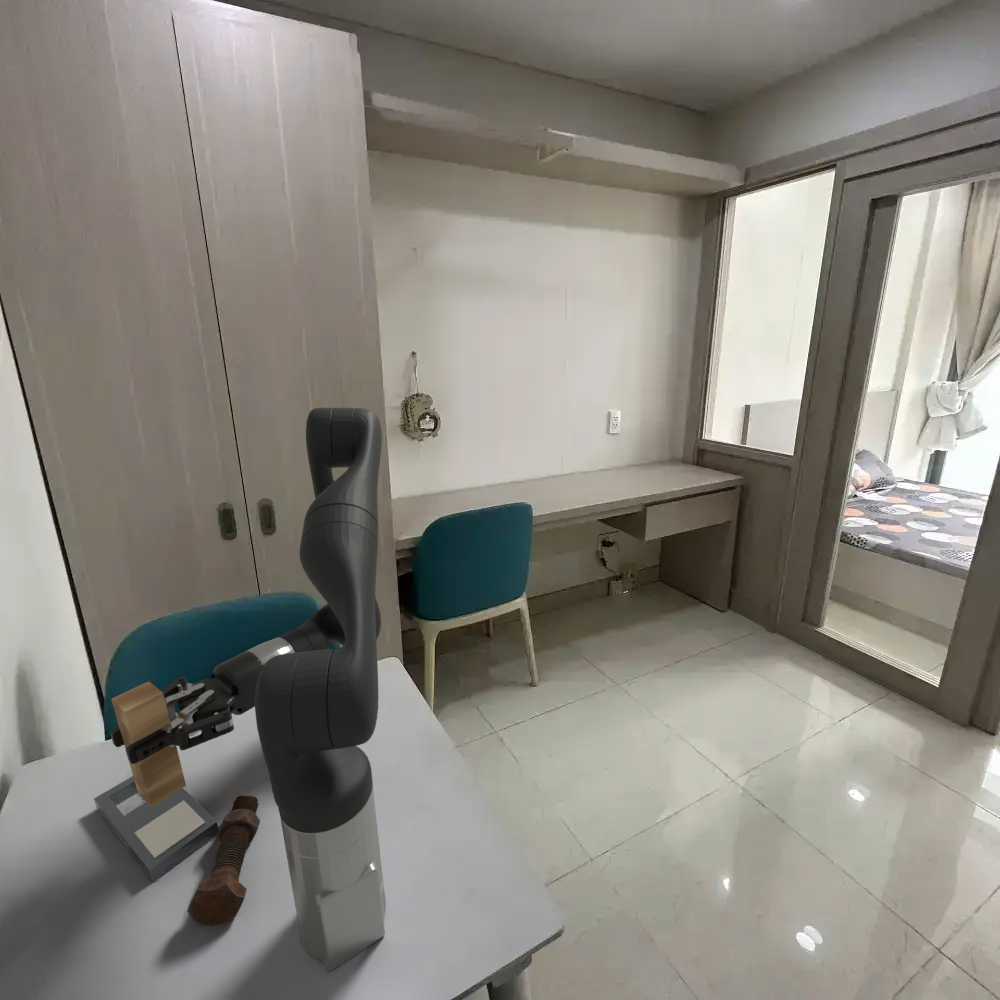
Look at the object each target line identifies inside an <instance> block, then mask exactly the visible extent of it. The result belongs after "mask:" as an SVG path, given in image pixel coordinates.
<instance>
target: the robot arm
mask: <svg viewBox="0 0 1000 1000" xmlns="http://www.w3.org/2000/svg"><path fill="white" fill-rule="evenodd" d="M305 424H306V425H305V443H306V446H305V447H306V452H307V458H308V465H309V472H310V476H311V482H312V487H313V493H314V498H315V499H314V500H313V502H311V504H310V505H309V508H308V509H307V510H306V514H305V517H304V520H303V526H302V532H301V538H300V546H299V560H300V564H301V567H302V569H303V572H305V575H306V576H307V578H308V580H309V581H310V582H311V584H312V586H313V587H314V588H315V589H316V591H318V593H319V594H320V596H321V597H322V598H323V599H324V601H325V602H326V603H327V604H325V605H323V606H322V607H321V608H319V610H317V611H316V612H315V613H314V614H312V615H311V616H310V617H309V618H308V619H306V621H304V622H303V623H302V624H301V625H300V626H298V627H296V628H294V629H292V630H290V631H288V632H286V633H284V634H282V635H280V636H278V637H275V638H273V639H271V640H267V641H265V642H262V643H260V644H257V645H256V646H254V647H251V648H250V649H247V650H245V651H243V652H241V653H239V654H236V655H235V656H233V657H231V658H229V659H227V660H225V661H222V662H221V663H219V664H217V665H216V666H215V667H214V669H213V672H212V673H211V675H210V676H209V677H208V678H205V679H202V680H199V681H196V682H194V683H191V682H190V683H189V682H187V677H186V676H181V677H178V678H177V679H175V680H173V681H172V682H170V683H169V684H168V685H166V686H165V687H163V688H162V689H161V690H160V691H161V692H163V695H164V699H165V703H166V707H167V711H168V715H169V719H170V723H169V724H168V725H167V726H165V727H164V731H162V730H161V729H159V730H157V731H155V732H154V733H152V734H150V735H148V736H146V737H144V738H142V739H141V740H139V741H137V742H135V743H133V744H131V745H129V746H128V747H127V748H126V749H125V753H126V756H127V761H128V762H129V761H130V762H131V763H132V764H135V763H137V762H139V761H141V760H144V759H146V758H148V757H149V756H151V755H153V754H155V753H156V752H158V751H160V750H162V749H163V748H165V747H167V746H168V747H174V746H176V747H179V749H180V751H185V750H189V749H191V748H193V747H196V746H198V745H202V744H204V743H206V742H208V741H211V740H213V739H214V740H215V739H216V738H219V737H221V736H223V735H227V734H229V733H231V732H233V731H234V729H235V726H234V718H233V716H232V715H235V716H240V715H243V714H244V713H247V712H248V711H249V710H252V709H253V708H254V711H255V721H256V727H257V728H256V730H257V733H258V737H259V742H260V747H261V751H262V753H263V758H264V760H265V765H266V769H267V773H268V777H269V781H270V788H271V792H272V797H273V799H274V803H275V804H276V806H277V808H278V814H279V817H280V824H281V830H282V836H283V841H284V842H283V843H284V847H285V853H286V859H287V865H288V871H289V877H290V882H291V888H292V889H291V890H292V895H293V901H294V906H295V912H296V916H297V917H296V918H297V923H298V929H299V934H300V940H301V943H302V945H303V947H304V949H305V950H306V952H307V953H308V954H309V955H310V956H312V957H313V958H314V959H316V960H319V961H321V962H323V963H324V964H325V965H326V969H327V971H328V972H331V971H333V970H334V969H337V967H340V966H341V965H342V964H344V963H345V962H347V961H349V960H350V959H351V958H352V957H354V956H356V955H358V954H359V953H360V952H362V951H363V950H364V949H367V947H369V946H371V945H372V944H374V943H375V942H377V941H378V940H380V939H381V938H383V937H384V936H385V934H386V930H385V921H384V919H385V915H386V895H385V884H384V876H383V868H382V867H383V866H382V859H381V849H380V839H379V831H378V830H379V829H378V823H377V813H376V802H375V800H376V799H375V793H374V784H373V783H374V782H373V772H372V766H371V761H370V760H369V759H370V758H369V757H368V756H367V754H366V752H365V751H363V749H362V748H360V747H359V746H360V745H363V744H366V743H368V741H370V739H371V738H372V737H373V734H374V732H375V729H376V726H377V722H378V721H377V720H378V715H379V714H378V713H379V697H380V696H379V670H378V667H379V666H378V647H377V640H378V639H379V636H380V633H381V630H382V617H381V616H382V615H381V611H380V607H379V604H378V600H377V597H376V596H377V595H376V587H377V584H376V583H377V565H378V552H379V549H378V548H379V512H378V511H379V508H378V506H379V505H378V487H379V485H378V481H379V475H380V474H379V473H380V463H381V456H382V443H383V435H382V434H383V431H382V425H381V422H380V418H379V416H378V415H377V413H376V412H375V411H373V410H371V409H367V408H363V407H316V408H315V407H314V408H312V409H311V410H310V411H309V412H308V416H307V418H306V423H305ZM334 468H348V469H346V471H344V472H343V474H341V475H340V476H339V477H338V478H336V479H334V476H333V471H332V470H333V469H334ZM334 642H335V643H336V644H339V645H341V647H335V648H330V644H331V643H334ZM176 704H177V709H178V712H176V709H175V705H176ZM199 732H201V733H200V734H198V733H199ZM197 734H198V735H197ZM110 738H111V741H112V744H113V745H114V746H115V747H116V748H120V747H122V746H124V742H123V738H122V735H121V731H120V728H119V726H117V727H116V728H113V730H111V731H110Z"/></svg>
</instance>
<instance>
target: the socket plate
mask: <svg viewBox="0 0 1000 1000" xmlns="http://www.w3.org/2000/svg"><path fill="white" fill-rule="evenodd" d="M136 794H138V791H137V788H136V784H135V781H134V777H133V775H132V776H130V777H129V778H127V779H125V780H124V781H122V782H120V783H118V784H117V785H115V786H113V787H111V788H110V789H108V790H106V791H104V792H103V793H101V794H99V795H97V796H96V797H94V798H93V801H94V804H95V808H96V810H97V812H98V813H99V814H100V816H101V817H102V818H103V820H104V821H105V822H106V823H107V825H108V826H109V827H110V829H111V830H112V831H113V833H114V834H115V835H116V837H117V838H118V839H119V840H120V842H121V843H122V845H123V846H124V847H125V848H126V850H127V851H128V852H129V854H130V855H131V856H132V858H133V859H134V860H135V862H136V863H137V864H138V865H139V867H140V868H141V869H142V871H143V872H144V873H145V875H146V876H147V877H148V878H149V879H150V882H151V883H155V882H156V881H158V879H160V878H162V877H163V876H164V875H166V874H167V873H168V872H170V871H171V870H172V869H174V868H175V867H177V866H178V865H179V864H181V863H182V862H183V861H184V860H186V859H187V858H188V857H190V856H191V855H193V854H194V853H195V852H196V851H198V850H199V849H201V848H202V847H203V846H205V845H206V844H207V843H210V841H212V840H213V839H214V838H215V837H216V838H217V833H218V830H219V828H220V827H219V824H218V820H216V819H215V818H214V817H213V816H212V815H211V814H210V813H209V812H208V811H207V810H206V809H205V808H204V807H203V806H202V805H201V804H200V803H199V802H198V801H197V800H196V799H195V798H194V797H193V796H192V795H191V794H190V793H189V792H188V791H187V790H186V789H185V788H184V787H183V788H181V789H180V790H178V791H177V792H175V793H174V794H172V795H171V796H169V797H168V798H166V799H164V800H163V801H161V802H160V803H158V804H157V805H155V806H154V807H152V808H151V807H150V806H149V804H148V803H147V802H146V801H145V802H143V803H142V804H141V805H138V807H135V808H134V809H132V810H131V811H129V812H127V813H126V814H123V812H122V811H121V810H120V809H119V808H118V805H119V804H121V803H122V802H124V801H125V800H128V799H129V798H131V797H132V796H134V795H136Z"/></svg>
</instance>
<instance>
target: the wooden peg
mask: <svg viewBox="0 0 1000 1000" xmlns="http://www.w3.org/2000/svg"><path fill="white" fill-rule="evenodd" d="M110 700H111V704H112V706H113V710H114V714H115V718H116V721H117V724H118V725H117V726H118V727H119V728H120V731H121V735H122V738H123V742H124V745H123V747H124V749H125V750H126V748H127V747H128V746H129V745H131V744H133V743H135V742H137V741H139V740H141V739H142V738H144V737H146V736H148V735H150V734H152V733H154V732H155V731H157V730H159V729H161V730H162V731H164V727H165V726H167V725H168V724H169V723H170V719H169V715H168V710H167V707H166V703H165V699H164V695H163V692H161V690H160V689H159V688H157V687H156V686H155V685H154V684H153V683H152V682H151V681H146V682H144V683H142V684H140V685H137V686H135V687H133V688H132V689H128V690H127V691H125V692H123V693H120V694H119V695H116V696H114V697H113V698H111V699H110ZM177 747H178V746H174V747H168V746H167V747H165V748H163V749H162V750H160V751H158V752H156V753H155V754H153V755H151V756H149V757H148V758H146V759H144V760H141V761H139V762H137V763H135V764H132V763H131V762H130V761H129V760H128V764H129V767H130V770H131V774H132V776H133V777H134V781H135V784H136V788H137V791H138V792H137V794H138V795H140V797H141V798H142V799H143V800H144V801H145V802H147V803H148V804H149V806H150V807H151V808H152V807H154V806H155V805H157V804H158V803H160V802H161V801H163V800H164V799H166V798H168V797H169V796H171V795H172V794H174V793H175V792H177V791H178V790H180V789H181V788H184V787H186V786H187V783H186V779H185V776H184V772H183V768H182V764H181V760H180V755H179V750H178V748H177Z"/></svg>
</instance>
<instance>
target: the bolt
mask: <svg viewBox="0 0 1000 1000" xmlns="http://www.w3.org/2000/svg"><path fill="white" fill-rule="evenodd" d="M258 802H259V800H258V797H257V796H256V795H250V794H239V795H238V796H237V797H235V799H234V800H233V802H232V807H231V810H230V811H229V812H227V813H225V816H224V817H223V819H222V822H221V823H220V826H219V827H218V828H219V830H218V833H217V836H216V838H217V839H218V841H219V847H218V850H217V852H216V855H215V858H214V862H213V865H212V868H211V871H210V874H209V877H208V878H207V879H203V880H200V882H199V884H198V886H197V888H196V889H195V892H194V894H193V896H192V898H191V900H190V902H189V905H188V909H187V913H188V915H189V916H190V918H191V919H192V920H193V921H194V922H195V923H197V924H199V925H202V926H209V927H213V926H218V925H221V924H225V923H228V922H229V921H231V920H233V919H235V918H236V916H237V915H238V912H240V909H241V908H242V904H243V902H244V900H245V897H246V893H247V889H248V888H247V887H245V886H244V885H243V884H242V883H241V882H239V881H240V880H239V879H240V875H241V870H242V867H243V863H244V859H245V855H246V852H247V848H248V845H249V844H251V843H252V841H254V838H255V836H256V834H257V832H258V829H259V828H260V827H259V826H260V822H261V820H260V817H258V815H257V810H258V808H259V803H258Z"/></svg>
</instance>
